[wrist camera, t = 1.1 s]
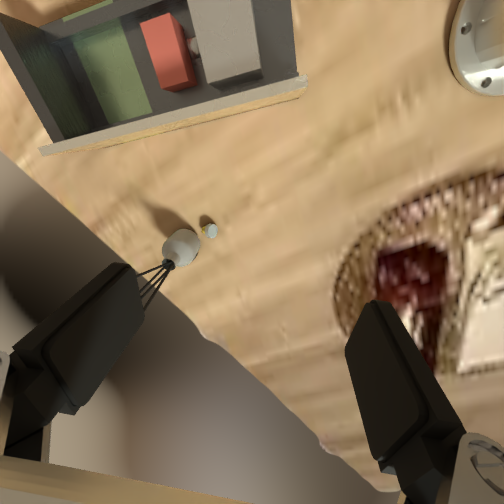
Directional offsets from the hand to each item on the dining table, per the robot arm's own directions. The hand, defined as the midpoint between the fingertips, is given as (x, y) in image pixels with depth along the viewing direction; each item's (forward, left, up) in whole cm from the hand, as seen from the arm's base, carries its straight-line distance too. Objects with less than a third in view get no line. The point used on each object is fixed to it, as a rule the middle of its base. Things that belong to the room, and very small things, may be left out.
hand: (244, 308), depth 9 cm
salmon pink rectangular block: (+7, -14, -23) cm, 28 cm away
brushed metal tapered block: (+2, -14, -23) cm, 27 cm away
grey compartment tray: (+8, -14, -25) cm, 29 cm away
